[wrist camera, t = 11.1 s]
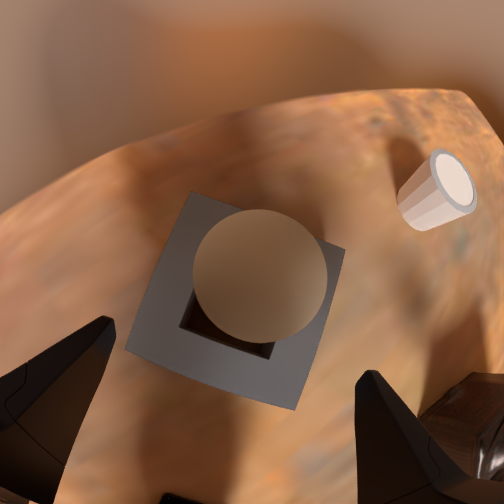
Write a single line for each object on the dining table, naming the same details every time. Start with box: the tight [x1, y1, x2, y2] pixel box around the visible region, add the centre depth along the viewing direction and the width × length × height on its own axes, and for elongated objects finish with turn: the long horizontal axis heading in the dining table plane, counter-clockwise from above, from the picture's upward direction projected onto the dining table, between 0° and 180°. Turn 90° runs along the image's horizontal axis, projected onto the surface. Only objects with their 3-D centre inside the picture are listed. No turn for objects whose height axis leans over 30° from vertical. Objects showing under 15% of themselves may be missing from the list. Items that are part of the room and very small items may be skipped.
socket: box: [125, 191, 345, 411], centre depth 20 cm, size 12×12×4 cm
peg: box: [193, 209, 327, 343], centre depth 15 cm, size 4×4×14 cm
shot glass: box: [397, 149, 477, 231], centre depth 23 cm, size 7×7×7 cm
